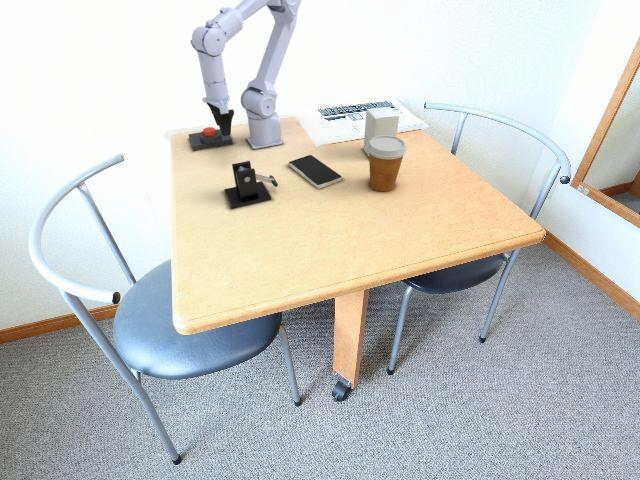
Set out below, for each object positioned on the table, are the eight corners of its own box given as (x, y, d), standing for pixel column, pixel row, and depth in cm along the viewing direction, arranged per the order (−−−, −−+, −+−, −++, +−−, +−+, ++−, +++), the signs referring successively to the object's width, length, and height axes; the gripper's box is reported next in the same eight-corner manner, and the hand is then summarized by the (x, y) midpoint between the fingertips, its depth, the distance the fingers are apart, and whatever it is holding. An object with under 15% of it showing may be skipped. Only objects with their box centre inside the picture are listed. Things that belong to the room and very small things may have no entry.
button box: (226, 132, 122) (224, 122, 119) (233, 145, 115) (231, 134, 113) (189, 139, 118) (186, 128, 116) (194, 152, 111) (191, 141, 109)
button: (214, 131, 115) (213, 126, 114) (216, 136, 113) (215, 130, 112) (203, 133, 114) (201, 128, 113) (205, 138, 112) (203, 132, 110)
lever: (270, 181, 96) (274, 173, 95) (275, 189, 93) (279, 181, 92) (235, 172, 90) (238, 163, 89) (239, 181, 87) (242, 172, 86)
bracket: (262, 184, 97) (258, 155, 92) (271, 199, 92) (268, 170, 86) (224, 192, 95) (218, 163, 89) (231, 209, 89) (225, 179, 84)
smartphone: (318, 185, 95) (287, 162, 104) (318, 189, 96) (287, 165, 105) (342, 176, 98) (311, 154, 107) (342, 180, 99) (311, 158, 108)
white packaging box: (394, 157, 108) (400, 115, 100) (370, 160, 107) (374, 118, 99) (385, 146, 114) (390, 106, 106) (362, 149, 113) (365, 108, 104)
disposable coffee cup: (403, 179, 99) (410, 137, 91) (396, 198, 92) (403, 154, 85) (368, 173, 102) (372, 132, 94) (360, 191, 95) (363, 148, 87)
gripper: (194, 74, 99) (204, 122, 108) (204, 90, 89) (214, 142, 98) (220, 70, 101) (228, 118, 110) (232, 86, 91) (240, 138, 100)
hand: (223, 129), depth 104 cm, fingers open, 7 cm apart
